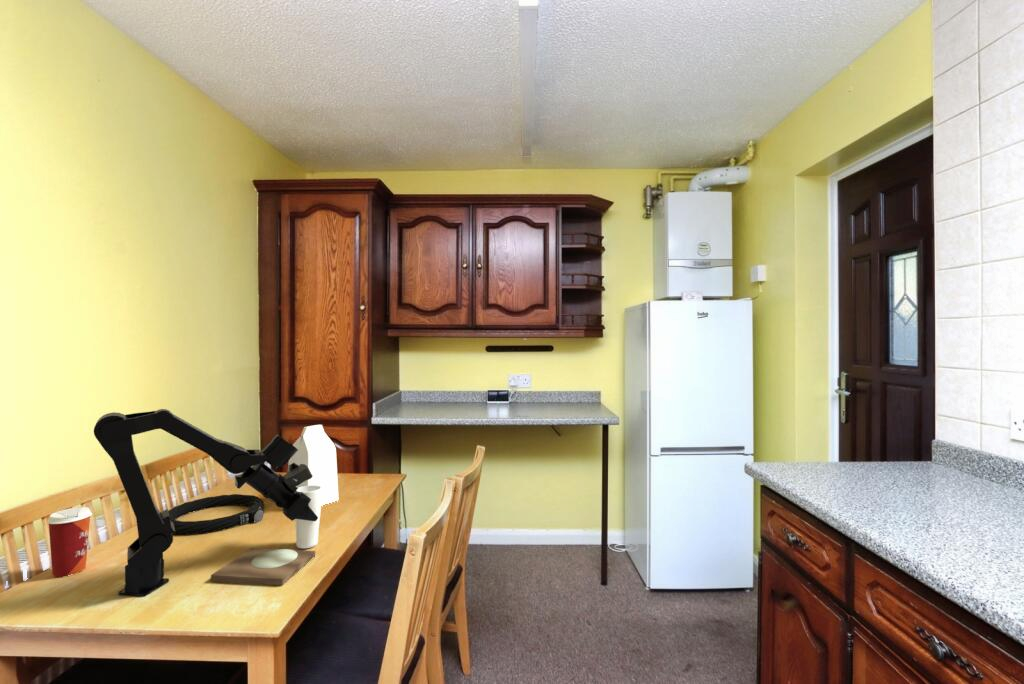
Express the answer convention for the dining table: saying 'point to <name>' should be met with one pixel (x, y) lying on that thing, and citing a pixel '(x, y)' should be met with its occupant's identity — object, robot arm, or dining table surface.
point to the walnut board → (263, 566)
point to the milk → (318, 461)
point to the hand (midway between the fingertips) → (312, 515)
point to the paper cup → (69, 540)
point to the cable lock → (220, 523)
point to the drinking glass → (305, 528)
